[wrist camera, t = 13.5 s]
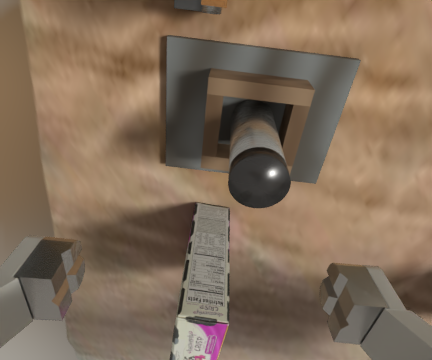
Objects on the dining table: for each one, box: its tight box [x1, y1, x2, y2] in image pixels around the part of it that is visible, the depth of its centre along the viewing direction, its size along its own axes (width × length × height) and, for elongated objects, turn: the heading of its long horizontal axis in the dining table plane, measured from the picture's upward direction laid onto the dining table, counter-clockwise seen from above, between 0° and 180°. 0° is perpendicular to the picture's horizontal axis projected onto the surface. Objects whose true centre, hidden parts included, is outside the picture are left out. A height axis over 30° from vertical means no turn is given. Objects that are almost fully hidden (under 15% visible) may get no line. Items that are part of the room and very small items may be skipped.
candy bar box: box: [170, 203, 230, 360], centre depth 35 cm, size 11×5×16 cm, turn 171°
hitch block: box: [166, 35, 361, 184], centre depth 30 cm, size 18×14×4 cm
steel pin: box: [228, 99, 291, 208], centre depth 26 cm, size 4×4×12 cm
